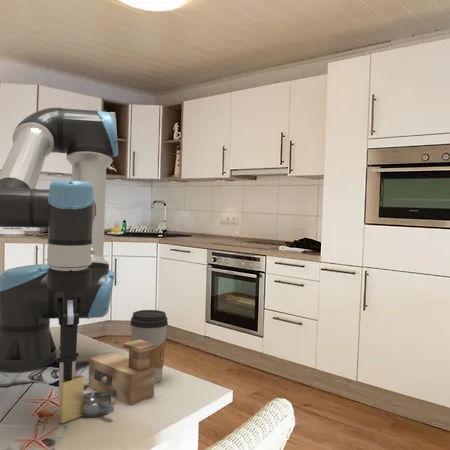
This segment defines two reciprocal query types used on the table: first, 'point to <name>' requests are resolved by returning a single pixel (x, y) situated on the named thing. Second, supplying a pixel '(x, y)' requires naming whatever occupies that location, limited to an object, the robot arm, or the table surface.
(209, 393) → the table surface
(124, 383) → the wooden drawer box
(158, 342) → the coffee cup
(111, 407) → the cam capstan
